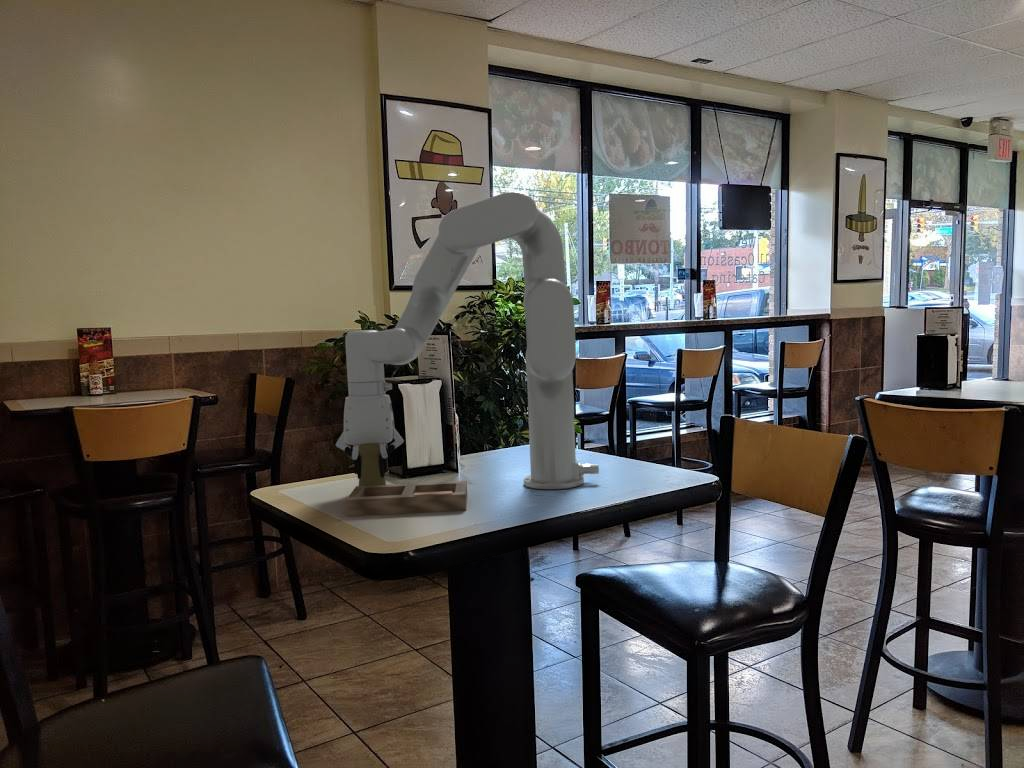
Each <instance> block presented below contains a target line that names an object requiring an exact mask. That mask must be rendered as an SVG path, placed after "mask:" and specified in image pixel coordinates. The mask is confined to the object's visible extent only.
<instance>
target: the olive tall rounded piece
mask: <svg viewBox="0 0 1024 768" xmlns="http://www.w3.org/2000/svg"><path fill="white" fill-rule="evenodd" d="M359 455H360V456H361V478H360V479H358V486H370V485H387V483H386V482H387V481H386V476H385V477H384V478H381V475H380V461H379V460H380V459H381V451H380V446H379V444H374V443H365V444H362V445H359Z"/></svg>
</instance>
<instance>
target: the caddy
mask: <svg viewBox="0 0 1024 768" xmlns="http://www.w3.org/2000/svg"><path fill="white" fill-rule="evenodd" d="M467 504H468V482H467V480H457V481H456V480H455V481H454V480H453V481H435V482H434V481H431V482H416V483H415V482H413V483H412V482H411V483H395V484H394V483H393V484H386V485H370V486H359V485H356V486H355V487H354V489H353V490H352V491H351V493H350V494H349V495H348V497H347V498H346V499H345V508H346V516H347V517H354V516H355V517H357V516H358V517H359V516H375V515H391V514H392V515H395V514H397V515H398V514H413V513H414V514H416V513H432V512H433V513H434V512H435V513H436V512H452V511H455V512H456V511H467Z"/></svg>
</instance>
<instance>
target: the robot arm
mask: <svg viewBox="0 0 1024 768" xmlns="http://www.w3.org/2000/svg"><path fill="white" fill-rule="evenodd" d="M506 239H511V240H514V241H515V242H516V243H517V244H518V245H519V248H520V250H521V256H522V267H523V268H522V269H523V277H524V278H523V282H524V283H523V285H524V296H523V309H524V317H525V332H526V333H525V336H526V351H525V370H526V383H527V384H526V387H527V407H528V408H527V409H528V411H527V413H528V432H529V433H528V434H529V435H528V437H529V440H528V441H529V457H530V458H529V460H530V463H529V464H530V475H527V476H525V477H524V478H523V485H524V486H526V487H527V488H531V489H535V490H536V489H537V490H563V489H571V488H575V487H579V486H581V485H583V484H584V483H585V477H584V475H585V474H586V475H588V474H590V475H596V474H599V472H600V469H599V464H598V463H597V464H591V463H585V464H583V463H579V461H578V460H577V459H576V458H577V457H576V434H575V433H576V432H575V430H576V428H575V398H574V382H573V381H574V379H573V378H574V377H573V369H574V368H575V364H576V359H577V358H576V357H577V352H576V351H577V349H576V346H577V345H576V326H575V325H576V324H575V309H574V308H575V307H574V299H573V295H572V292H571V290H570V288H568V286H567V282H566V281H567V279H566V265H565V258H564V257H565V255H564V247H563V242H562V241H563V240H562V237H561V235H560V232H559V230H558V228H557V226H556V225H555V223H554V221H553V220H552V219H551V218H550V217H549V216H548V215H547V214H546V213H545V212H543V211H542V210H541V209H539V208H538V207H537V204H536V202H535V200H534V199H533V198H532V197H531V195H529V194H528V193H526V192H523V191H518V190H513V191H512V190H510V191H506V192H503V193H500V194H497V195H494V196H491V197H489V198H485V199H482V200H479V201H476V202H473V203H470V204H467V205H465V206H461V207H457V208H456V209H452V210H451V211H449V212H447V213H446V214H445V215H444V216H443V217H442V219H441V220H440V222H439V225H438V234H437V236H436V238H435V240H434V242H433V244H432V246H431V247H430V249H429V251H428V253H427V255H426V256H425V258H424V260H423V262H422V264H421V266H420V268H419V269H418V271H417V273H416V275H415V277H414V279H413V285H412V289H411V290H412V291H411V294H410V297H409V300H408V302H407V304H406V306H405V309H404V311H403V312H402V314H401V316H400V318H399V320H398V321H397V322H396V323H397V324H396V325H395V327H394V328H390V329H385V330H384V329H383V330H380V331H379V330H377V329H365V330H364V329H363V330H352V331H348V332H347V333H346V334H345V339H344V340H345V354H346V355H345V356H346V357H345V359H346V376H347V388H348V389H347V390H348V396H346V397H345V401H344V407H343V408H344V410H343V431H342V433H341V435H340V436H339V438H338V439H337V441H336V443H335V446H336V448H339V449H340V450H342V451H343V452H345V453H346V454H348V456H349V457H350V458H351V459H352V460H353V468H354V469H353V470H354V471H353V472H354V475H357V479H358V480H359V479H360V478H361V456H360V455H359V445H362V444H365V443H374V444H379V446H380V451H381V459H380V460H379V461H380V475H381V478H384V477H385V478H386V474H387V473H389V464H388V463H389V461H388V459H389V458H388V457H389V456H390V454H392V452H394V450H396V449H397V448H398V447H400V446H401V445H402V444H403V443H404V441H405V440H404V439H403V437H402V436H401V435H400V433H399V432H398V430H397V429H396V428H395V419H394V412H393V407H392V400H391V397H390V395H389V394H386V392H387V391H389V390H390V391H391V390H393V384H392V383H391V382H387V381H386V379H385V367H384V366H385V365H396V366H402V365H407V364H408V363H411V362H412V361H414V360H415V359H417V358H418V357H419V356H420V354H421V353H422V351H423V349H424V347H425V346H426V344H427V342H428V341H429V339H430V337H431V335H432V333H433V331H434V330H435V328H436V326H437V323H438V322H439V320H440V318H441V317H442V314H443V313H444V311H445V309H446V308H447V307H448V305H449V303H450V302H451V299H452V298H453V296H454V294H455V292H456V291H457V288H458V287H459V284H460V283H461V280H462V279H463V277H464V275H465V273H466V272H467V270H468V268H469V266H470V264H471V262H473V259H474V257H475V255H476V254H477V252H478V249H479V248H482V247H485V246H486V247H487V246H489V245H491V244H494V243H497V242H500V241H504V240H506ZM384 364H385V365H384ZM393 440H394V441H393ZM392 441H393V442H392ZM391 442H392V443H391ZM388 443H389V444H390V445H388Z"/></svg>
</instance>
